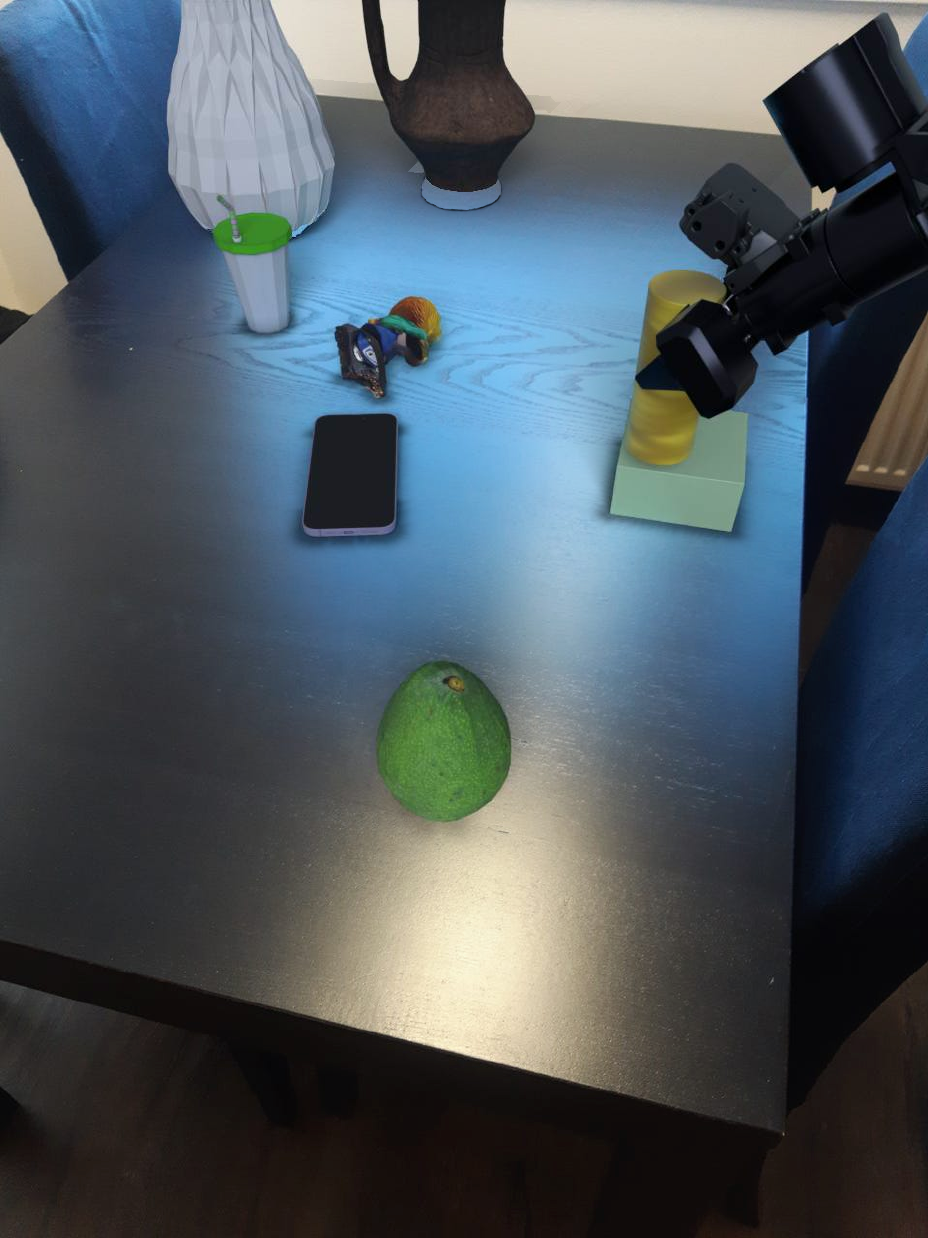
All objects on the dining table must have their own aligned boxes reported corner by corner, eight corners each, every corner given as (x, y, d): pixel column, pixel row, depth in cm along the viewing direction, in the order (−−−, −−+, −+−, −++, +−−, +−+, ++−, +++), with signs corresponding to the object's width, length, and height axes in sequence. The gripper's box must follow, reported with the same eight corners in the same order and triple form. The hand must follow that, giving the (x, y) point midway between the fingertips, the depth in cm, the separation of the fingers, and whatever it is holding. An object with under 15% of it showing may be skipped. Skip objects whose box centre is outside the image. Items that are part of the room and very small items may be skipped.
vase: (210, 193, 120) (152, -85, 98) (355, 198, 119) (329, -83, 97) (162, 260, 107) (82, -46, 85) (325, 266, 105) (287, -43, 83)
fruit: (426, 874, 52) (417, 758, 43) (359, 779, 56) (339, 656, 48) (533, 807, 55) (544, 686, 46) (461, 722, 59) (460, 597, 51)
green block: (735, 460, 79) (748, 412, 75) (731, 532, 72) (745, 484, 69) (623, 444, 81) (631, 397, 77) (609, 513, 74) (616, 465, 70)
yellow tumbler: (706, 448, 69) (743, 288, 59) (660, 474, 67) (691, 313, 57) (656, 418, 72) (684, 261, 62) (611, 443, 69) (632, 284, 60)
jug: (530, 168, 126) (543, -101, 104) (532, 223, 113) (546, -70, 91) (383, 167, 127) (365, -100, 105) (368, 221, 114) (344, -69, 92)
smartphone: (299, 530, 71) (314, 414, 82) (301, 541, 72) (316, 425, 83) (396, 527, 72) (398, 412, 82) (397, 538, 72) (399, 423, 83)
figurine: (422, 334, 94) (418, 278, 90) (465, 364, 90) (464, 307, 86) (331, 371, 90) (323, 314, 85) (373, 404, 86) (366, 345, 81)
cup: (283, 298, 100) (260, 158, 89) (318, 326, 96) (298, 182, 85) (220, 319, 97) (188, 176, 86) (253, 349, 93) (223, 202, 82)
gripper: (836, 87, 56) (652, 224, 68) (718, 184, 45) (526, 325, 58) (919, 241, 59) (727, 345, 71) (825, 366, 48) (619, 463, 60)
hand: (655, 365), depth 65 cm, fingers closed on yellow tumbler, 5 cm apart
